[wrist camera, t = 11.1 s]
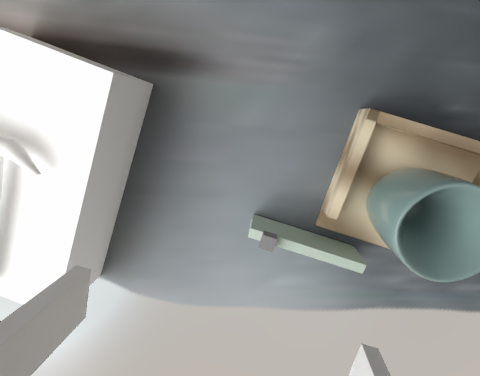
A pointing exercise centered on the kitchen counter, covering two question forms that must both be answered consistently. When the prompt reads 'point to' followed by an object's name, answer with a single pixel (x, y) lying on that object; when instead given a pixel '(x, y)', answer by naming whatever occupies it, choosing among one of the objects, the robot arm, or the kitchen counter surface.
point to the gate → (304, 243)
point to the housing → (389, 166)
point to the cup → (428, 222)
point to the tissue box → (60, 160)
